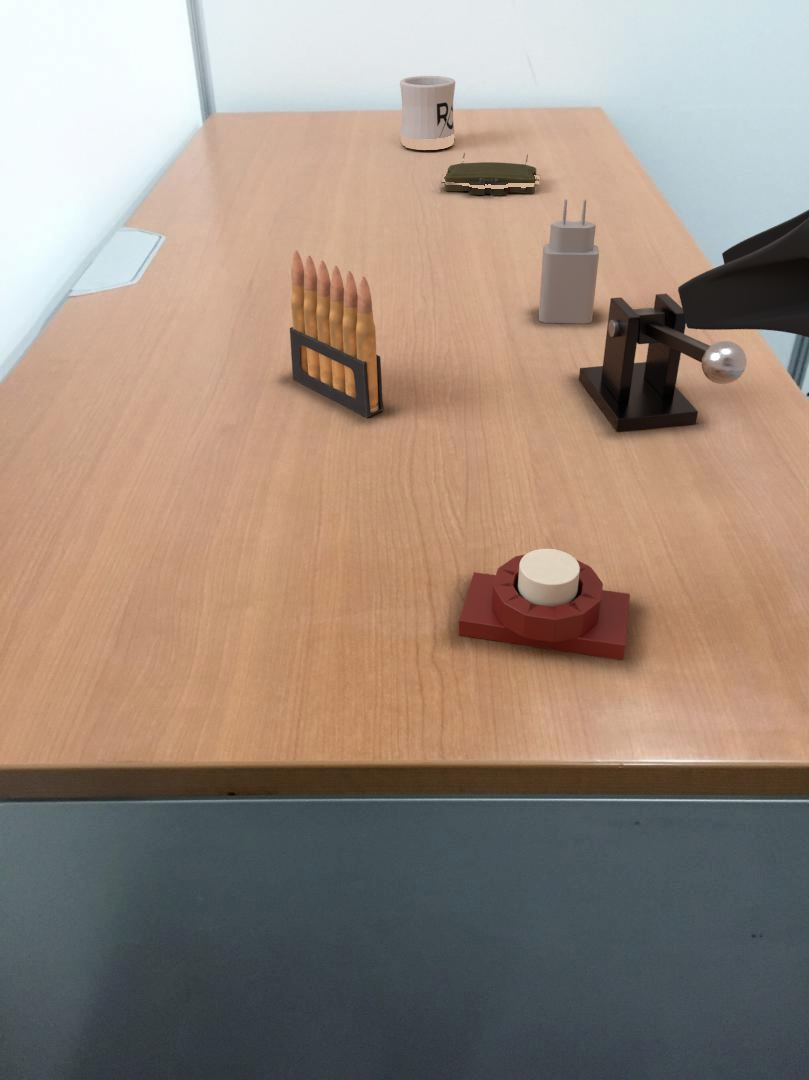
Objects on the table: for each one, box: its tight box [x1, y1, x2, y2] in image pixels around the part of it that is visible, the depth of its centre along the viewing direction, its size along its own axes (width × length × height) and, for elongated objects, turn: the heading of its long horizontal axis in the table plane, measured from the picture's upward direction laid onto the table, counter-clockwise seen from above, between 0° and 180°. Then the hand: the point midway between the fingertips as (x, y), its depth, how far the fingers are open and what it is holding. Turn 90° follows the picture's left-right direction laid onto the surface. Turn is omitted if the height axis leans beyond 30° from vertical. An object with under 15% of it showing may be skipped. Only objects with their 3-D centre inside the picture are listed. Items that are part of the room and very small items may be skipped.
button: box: [518, 548, 580, 607], centre depth 58 cm, size 4×4×2 cm
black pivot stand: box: [578, 293, 699, 433], centre depth 81 cm, size 10×7×9 cm
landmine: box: [440, 152, 539, 197], centre depth 140 cm, size 14×3×15 cm
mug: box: [399, 75, 456, 139], centre depth 157 cm, size 12×9×10 cm
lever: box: [632, 307, 747, 385], centre depth 73 cm, size 17×3×3 cm, turn 10°
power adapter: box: [538, 198, 600, 325], centre depth 96 cm, size 3×5×12 cm, turn 85°
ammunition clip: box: [289, 250, 384, 419], centre depth 82 cm, size 11×2×12 cm, turn 43°
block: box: [458, 553, 631, 661], centre depth 59 cm, size 10×6×3 cm, turn 76°
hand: (707, 287), depth 49 cm, fingers open, 7 cm apart
